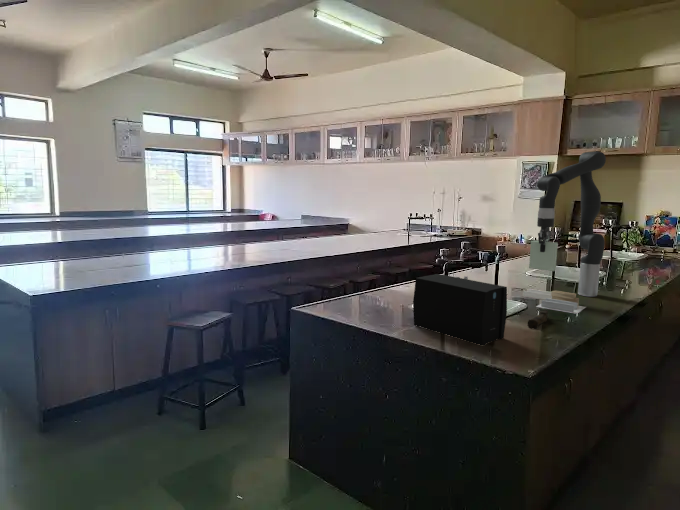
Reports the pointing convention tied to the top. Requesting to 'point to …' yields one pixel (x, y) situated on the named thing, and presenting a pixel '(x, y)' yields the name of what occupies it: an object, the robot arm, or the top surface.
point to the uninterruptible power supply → (460, 307)
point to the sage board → (543, 256)
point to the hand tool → (538, 319)
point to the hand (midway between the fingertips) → (543, 251)
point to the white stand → (537, 294)
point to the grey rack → (561, 305)
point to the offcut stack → (564, 296)
